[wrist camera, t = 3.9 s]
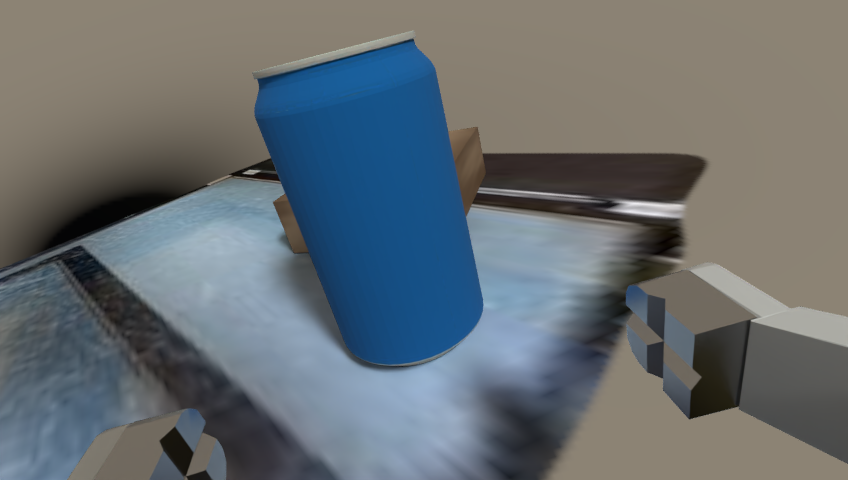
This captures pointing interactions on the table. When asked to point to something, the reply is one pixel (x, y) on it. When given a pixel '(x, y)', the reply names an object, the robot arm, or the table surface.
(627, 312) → the table surface
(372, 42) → the beverage can
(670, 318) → the robot arm
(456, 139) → the base block
